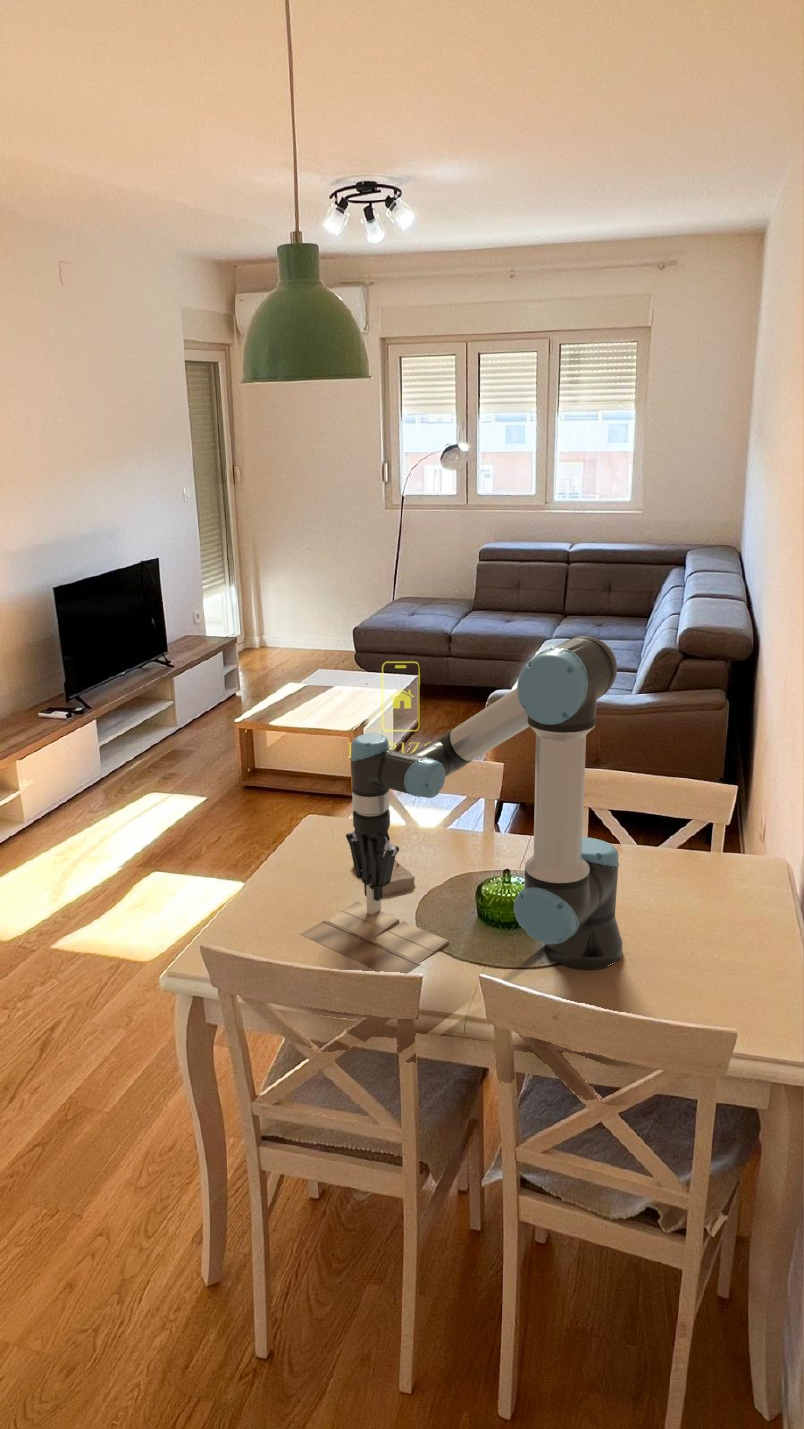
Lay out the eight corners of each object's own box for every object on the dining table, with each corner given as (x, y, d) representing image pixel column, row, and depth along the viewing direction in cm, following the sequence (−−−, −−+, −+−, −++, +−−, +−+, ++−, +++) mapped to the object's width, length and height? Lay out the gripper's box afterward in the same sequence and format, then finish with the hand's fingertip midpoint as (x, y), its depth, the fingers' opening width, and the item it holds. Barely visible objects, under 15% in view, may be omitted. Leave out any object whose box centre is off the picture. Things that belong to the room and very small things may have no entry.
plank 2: (448, 945, 198) (448, 940, 197) (420, 967, 192) (419, 962, 191) (403, 926, 205) (402, 920, 205) (374, 946, 199) (373, 941, 199)
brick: (417, 894, 221) (417, 874, 219) (383, 902, 217) (383, 883, 216) (384, 864, 235) (384, 846, 234) (352, 872, 231) (351, 854, 230)
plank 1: (399, 924, 206) (399, 918, 205) (370, 944, 200) (369, 939, 199) (357, 906, 213) (356, 900, 213) (328, 925, 207) (327, 920, 207)
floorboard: (420, 970, 191) (420, 963, 191) (396, 986, 186) (396, 979, 186) (324, 926, 207) (324, 920, 207) (300, 940, 202) (300, 933, 202)
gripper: (407, 811, 200) (409, 914, 208) (360, 795, 208) (363, 894, 216) (382, 824, 195) (385, 929, 202) (335, 806, 203) (339, 908, 210)
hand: (374, 911), depth 209 cm, fingers closed
